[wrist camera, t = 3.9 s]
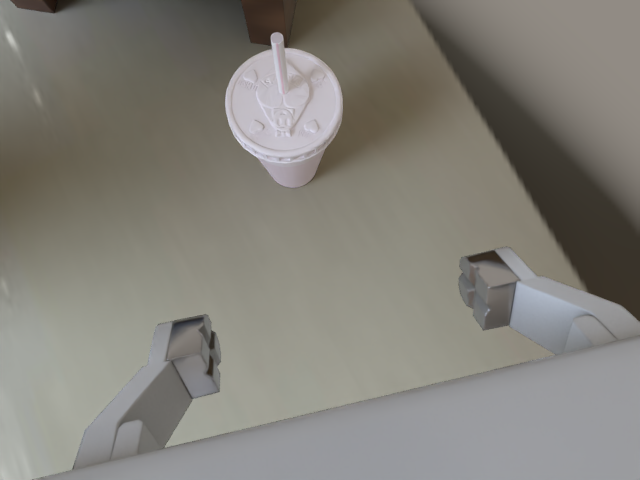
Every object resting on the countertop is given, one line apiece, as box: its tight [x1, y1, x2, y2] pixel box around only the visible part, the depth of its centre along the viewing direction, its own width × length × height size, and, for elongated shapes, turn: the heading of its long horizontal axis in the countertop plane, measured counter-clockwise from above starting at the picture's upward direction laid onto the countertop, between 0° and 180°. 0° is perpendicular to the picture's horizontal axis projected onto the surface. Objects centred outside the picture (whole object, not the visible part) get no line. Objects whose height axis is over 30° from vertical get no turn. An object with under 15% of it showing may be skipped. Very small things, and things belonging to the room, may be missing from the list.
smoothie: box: [225, 32, 343, 188], centre depth 25 cm, size 6×6×14 cm
